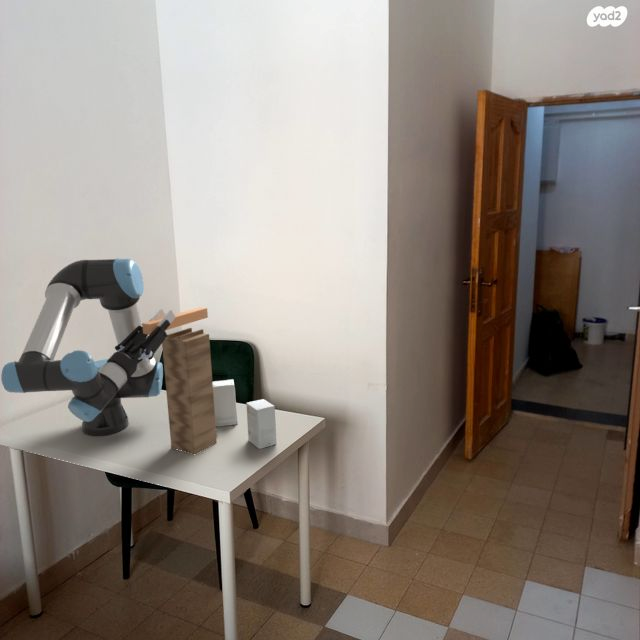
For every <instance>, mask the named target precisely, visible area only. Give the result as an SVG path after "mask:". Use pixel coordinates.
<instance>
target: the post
mask: <svg viewBox="0 0 640 640" xmlns="http://www.w3.org/2000/svg"><path fill="white" fill-rule="evenodd" d="M192 329H193V328H192V327H188V328H184V329H181V330H177V331H175V332H172V333H169V334H167V335H168V336H167V337H166V339H165V340H164V341H163V343H162V344H161V345H162V357H163V371H164V379H165V390H166V400H167V412H168V413H167V415H168V422H169V423H168V424H169V434H170V435H169V437H170V447H171V449H172V448H174V449H173V450H176V449H178V450H177V451H179V450H182V451H181V452H183V451H186V452H189V453H188V454H190V453H192V454H191V455H194V454H196V455H198V454H199V452H200V451H201V452H203V451H204V449H205V450H206V448H207V449H209V448H210V447H212V446H213V444H214V445H215V444H217V443H218V442H217V430H216V429H217V427H216V425H215V411H214V397H213V383H212V382H213V371H212V359H211V358H212V357H211V344H210V334H209V333H204V329H202V328H201V329H198V330H194V331H193V330H192ZM211 445H212V446H211ZM209 446H210V447H209ZM202 450H203V451H202ZM186 452H185V453H186ZM201 452H200V453H201ZM197 453H198V454H197Z"/></svg>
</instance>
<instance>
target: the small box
mask: <svg viewBox="0 0 640 640" xmlns="http://www.w3.org/2000/svg"><path fill="white" fill-rule="evenodd" d="M275 408H276V407H275V405H274V404H272V403H271V402H270V401H267V400H266V399H264V398H261V399H257V400H253V401H249V402H246V421H247V423H246V424H247V438H248V442H250V443H251V444H252V445H253V446H254V447H256V448H257V449H259V450H260V449H264V448H268V447H271V446H274V445H277V429H276V428H277V427H276V425H277V424H276V409H275Z"/></svg>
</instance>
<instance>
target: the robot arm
mask: <svg viewBox="0 0 640 640" xmlns="http://www.w3.org/2000/svg"><path fill="white" fill-rule="evenodd" d="M143 278H144V277H143V274H142V271H141V267H140V266H139V264H138V263H137V262H136V261H135V260H133V259H130V258H119V257H118V258H115V259H114V258H113V259H112V258H111V259H110V258H109V259H81V260H76V261H74V262H72V263H71V262H70V263H69V264H68V265H66V266H64V267H63V268H62V269H61V270H59V271H58V272H57V273H56V274H55V275H54V276H53V277H52V279H51V280H50V281H49V283H48V285H47V287H46V289H45V292H44V297H45V300H44V303H43V305H42V307H41V309H40V312H39V314H38V316H37V319H36V321H35V323H34V326H33V328H32V331H31V333H30V335H29V336H28V340H27V341H26V344H25V346H24V348H23V351H22V353H21V355H20V357H19V360H18V361H16V360H14V361H10V362H7V363H6V364H4V365H3V367H2V369H1V370H2V371H1V375H0V376H1V377H0V378H1V384H2V386H3V388H4V390H5V391H7V392H9V393H15V394H17V393H20V394H21V393H22V394H25V393H37V392H38V393H39V392H63V391H71V392H72V394H73V397H71V399H70V401H69V402H68V406H67V408H68V410H69V411H70V413H71V414H72V415H74V417H76V418H77V419H79V420H81V421H82V422H81V427H82V428H81V429H82V432H83V433H84V434H85V435H89V436H107V435H112V434H115V433H118V432H120V431H123V430H125V429H126V428H127V427H128V426H129V415H127V412H126V411H125V408H124V406H123V405H122V399H129V398H130V399H133V398H134V399H135V398H137V399H139V398H141V399H142V398H152V397H157V396H159V395H160V394H161V392H162V386H163V380H164V379H163V377H164V364H163V363H162V362H161V361H160V362H159V361H157V362H156V359H155V357H154V355H155V353H156V352H157V351H158V350H159V348H160V347H161V345H162V343H163V341H164V340H165V339H166V337H167V336H168V334H167V332H166V331H167V330H166V329H167V328H168V327H169V326H170V324H171V322H172V321H173V320H174V319H175V318H176V317H175V315H174V311H173V310H169V311H167V313H165V312H164V310H163V309H162V308H161V309H159V310H158V312H156V314H155V315H154V316H153V317H152V318H151V319H150V320H149V321H153V320H156V319H160V318H163V319H162V320H161V321H160V322H159V323H158V324H157V328H156V329H155V330H154V331H153V332H152V333H151V334H150V335H149V334H143V326H142V321H141V317H140V312H139V310H138V305H137V304H138V302H139V300H140V299H141V298H140V297H142V296H143V293H144V282H143ZM84 300H99V303H100V305H101V307H102V308H103V309H104V310H107V312H108V315H109V318H110V322H111V325H112V328H113V332H114V335H115V340H116V343H117V345H116V346H114V349H115V350H116V352H114V353H113V354H112V355H111V356H110V357H109V358H105V359H100V360H96V361H94V359H93V356H91V353H89V352H86V351H84V350H79V349H77V350H73V351H72V352H68V353H67V354H65V355H64V356H63V357H62V359H59V360H58V359H57V360H55V357H56V355H57V351H58V349H59V347H60V345H61V341H62V339H63V337H64V335H65V334H64V333H65V331H66V329H67V326H68V323H69V321H70V319H71V316H72V313H73V310H74V309H76V308H77V307H78V306H79V305H80V303H81V301H84Z"/></svg>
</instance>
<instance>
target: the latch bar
mask: <svg viewBox="0 0 640 640" xmlns="http://www.w3.org/2000/svg"><path fill="white" fill-rule="evenodd" d="M208 313H209V312H208V307H207V308H206V307H198V308H197V307H196V308H193V309H189V310H186V311H181V312H179V313H175V314H174V313H173V314H174V315H175V317H176V318H175V319H174V320H173V321H172V322H171V324H170V326H169V327H168V328H167V329H166V330H165V331H169V330H171V329H175V328H178V327H182V326H185V325H188V324H191V323H194V322H197V321H201V320H204V319H207V318H209V315H208ZM162 319H163V318H160V319H156V320H153V321H150V320H149V321H146V322H141V324H142V326H143V334H148V336H149V335H150V334H151V333H152V332H153V331H154V330H155V329H156V328H157V324H158V323H159V322H160V321H161V320H162Z"/></svg>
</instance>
